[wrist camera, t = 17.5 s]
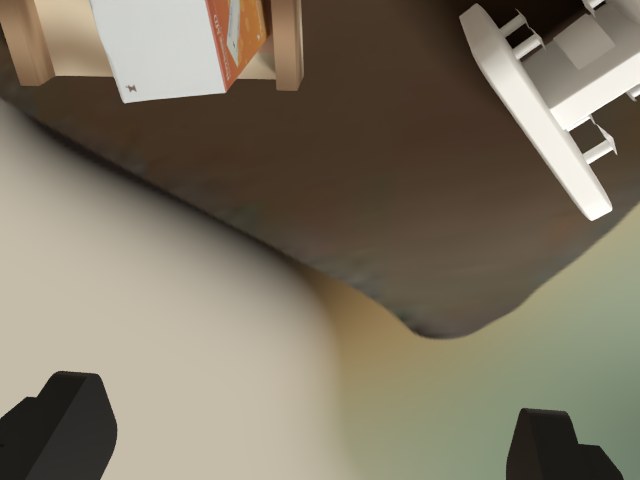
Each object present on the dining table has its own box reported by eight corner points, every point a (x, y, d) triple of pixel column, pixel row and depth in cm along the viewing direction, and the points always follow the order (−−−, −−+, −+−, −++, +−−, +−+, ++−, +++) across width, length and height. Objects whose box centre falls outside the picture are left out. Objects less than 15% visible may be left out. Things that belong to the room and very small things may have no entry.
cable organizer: (446, 2, 40) (461, 47, 30) (589, -114, 35) (660, -103, 26) (553, 154, 45) (594, 234, 36) (689, 72, 41) (779, 138, 31)
